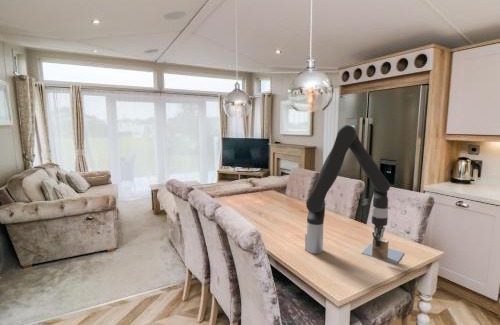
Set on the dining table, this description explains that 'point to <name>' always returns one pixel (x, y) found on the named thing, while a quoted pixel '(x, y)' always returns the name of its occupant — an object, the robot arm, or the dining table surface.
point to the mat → (392, 254)
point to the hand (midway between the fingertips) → (377, 246)
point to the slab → (380, 249)
